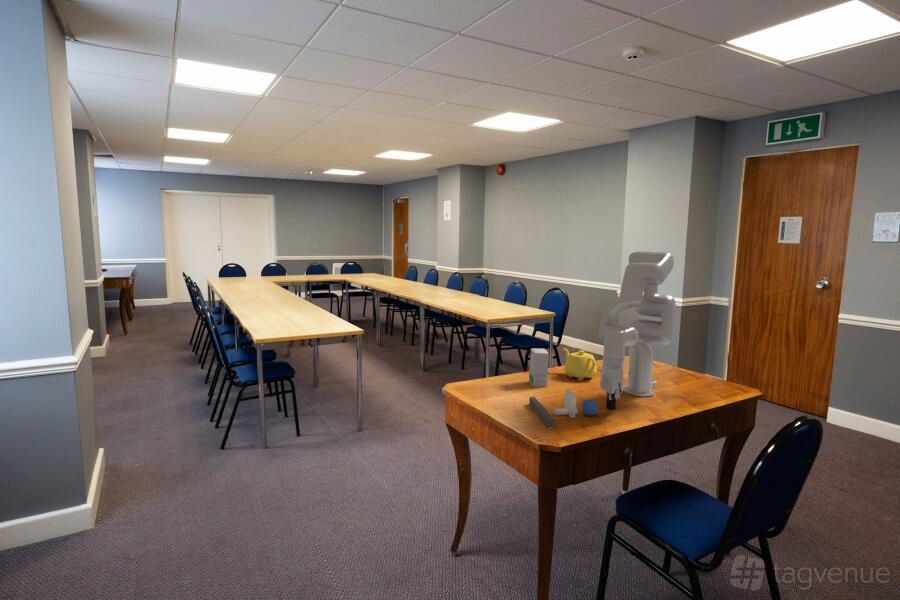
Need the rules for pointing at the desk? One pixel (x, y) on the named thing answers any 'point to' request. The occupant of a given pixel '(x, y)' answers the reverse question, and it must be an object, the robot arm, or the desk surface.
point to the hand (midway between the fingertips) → (610, 409)
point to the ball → (589, 407)
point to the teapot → (580, 364)
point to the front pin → (563, 411)
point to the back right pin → (567, 398)
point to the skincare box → (538, 367)
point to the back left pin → (572, 405)
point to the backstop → (542, 412)
